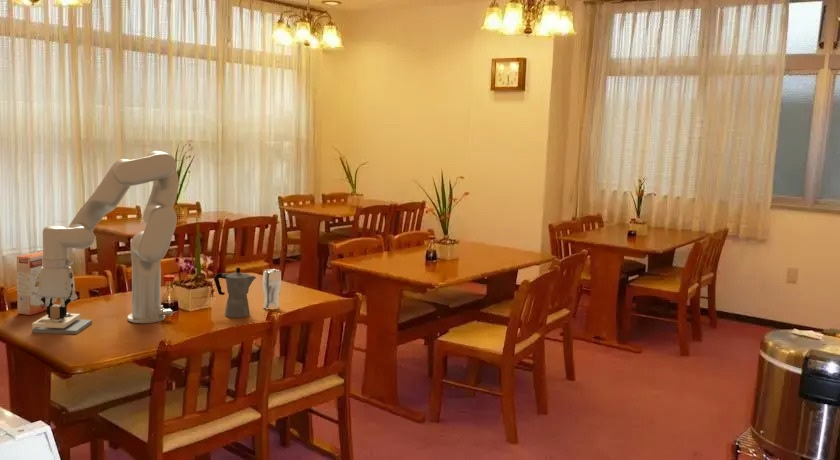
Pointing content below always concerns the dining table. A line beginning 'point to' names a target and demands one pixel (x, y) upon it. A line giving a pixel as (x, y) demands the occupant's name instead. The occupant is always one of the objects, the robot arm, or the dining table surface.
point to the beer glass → (271, 287)
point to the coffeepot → (236, 292)
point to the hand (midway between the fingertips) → (57, 316)
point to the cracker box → (29, 284)
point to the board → (70, 329)
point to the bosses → (60, 318)
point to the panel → (55, 325)
